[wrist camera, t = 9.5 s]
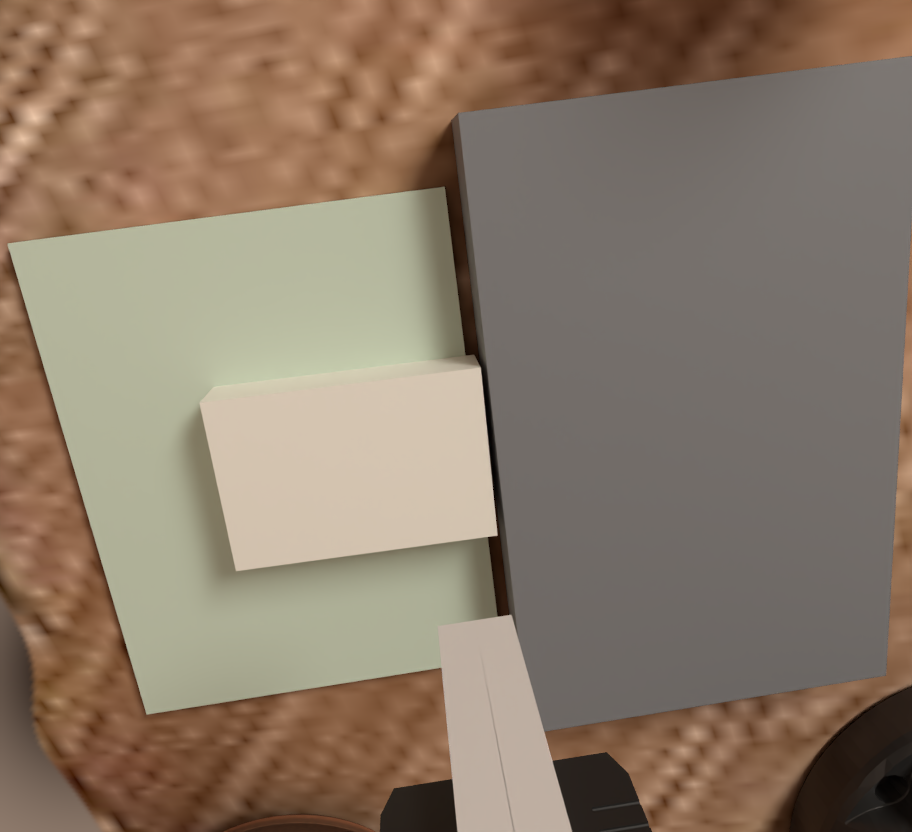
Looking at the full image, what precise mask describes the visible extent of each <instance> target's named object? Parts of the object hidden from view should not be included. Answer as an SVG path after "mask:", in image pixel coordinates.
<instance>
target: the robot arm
mask: <svg viewBox="0 0 912 832" xmlns="http://www.w3.org/2000/svg"><path fill="white" fill-rule="evenodd" d="M438 636H439V646H440V657H441V667H442V677H443V687H444V698H445V708H446V718H447V729H448V739H449V749H450V760H451V770H452V779H450V780H444V781H438V782H432V783H425V784H419V785H413V786H407V787H401V788H394V789H393V791H392V794H391V796H390V798H389V800H388V802H387V804H386V806H385V808H384V810H383V812H382V814H381V820H380V832H652V831H651V828H649V825H648V821H647V818H646V816H645V813H644V811H643V808H642V806H641V805H640V803H639V799H638V796H637V794H636V791H635V789H634V786H633V784H632V781H631V779H630V776H629V774H628V773H627V772H626V771H625V770H624V769H623V768H622V767H621V766H620V765H619V764H618V763H617V762H616V761H615V760H614V759H613V758H612V757H611V756H610V755H609V754H608V753H607V752H605V753H599V754H593V755H587V756H580V757H574V758H568V759H562V760H555V761H552V758H551V754H550V751H549V747H548V744H547V740H546V736H545V733H544V729H543V726H542V722H541V719H540V715H539V711H538V708H537V704H536V701H535V697H534V693H533V690H532V686H531V683H530V679H529V676H528V672H527V668H526V665H525V661H524V658H523V654H522V651H521V647H520V643H519V640H518V636H517V633H516V629H515V626H514V622H513V618H512V615H507V616H500V617H494V618H487V619H480V620H474V621H467V622H461V623H454V624H448V625H441V626H438ZM790 832H912V687H911V688H908V689H906V690H904V691H902V692H900V693H898V694H896V695H894V696H892V697H890V698H888V699H887V700H885V701H883V702H882V703H880V704H878V705H877V706H875V707H874V708H872V709H871V710H869V711H868V712H866V713H865V714H864V715H862V716H861V717H860V718H859V719H857V720H856V721H855V722H854V723H852V724H851V725H850V726H849V727H848V728H847V729H846V730H844V731H843V732H842V733H841V734H840V735H839V736H838V737H837V738H836V739H835V740H834V742H833V743H832V744H831V745H830V746H829V747H828V748H827V749H826V751H825V752H824V753H823V754H822V756H821V757H820V758H819V760H818V761H817V763H816V764H815V766H814V767H813V768H812V770H811V772H810V773H809V775H808V777H807V779H806V781H805V783H804V785H803V787H802V789H801V791H800V793H799V796H798V798H797V801H796V804H795V807H794V811H793V815H792V819H791V826H790Z"/></svg>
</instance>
